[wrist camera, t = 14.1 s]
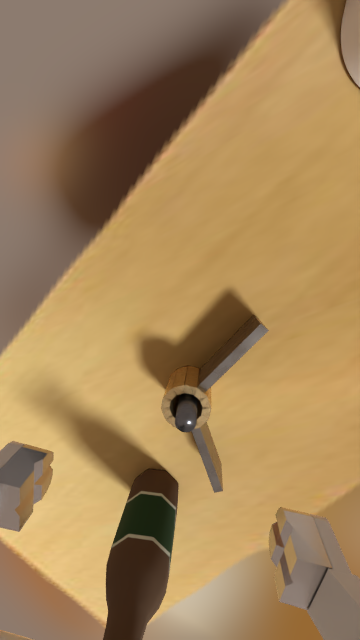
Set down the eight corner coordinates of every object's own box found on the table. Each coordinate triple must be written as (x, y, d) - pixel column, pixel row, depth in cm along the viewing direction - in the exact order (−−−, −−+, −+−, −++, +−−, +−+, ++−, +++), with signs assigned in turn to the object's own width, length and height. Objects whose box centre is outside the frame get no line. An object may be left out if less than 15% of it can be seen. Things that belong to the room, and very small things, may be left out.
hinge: (240, 302, 35) (246, 311, 29) (321, 376, 36) (343, 398, 30) (142, 405, 40) (130, 430, 34) (216, 467, 41) (217, 501, 35)
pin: (189, 375, 38) (184, 408, 29) (201, 385, 38) (200, 422, 30) (178, 386, 39) (170, 422, 30) (190, 396, 39) (186, 436, 30)
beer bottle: (168, 514, 44) (124, 800, 21) (126, 494, 44) (34, 757, 21) (188, 480, 42) (164, 751, 19) (144, 458, 42) (65, 705, 19)
